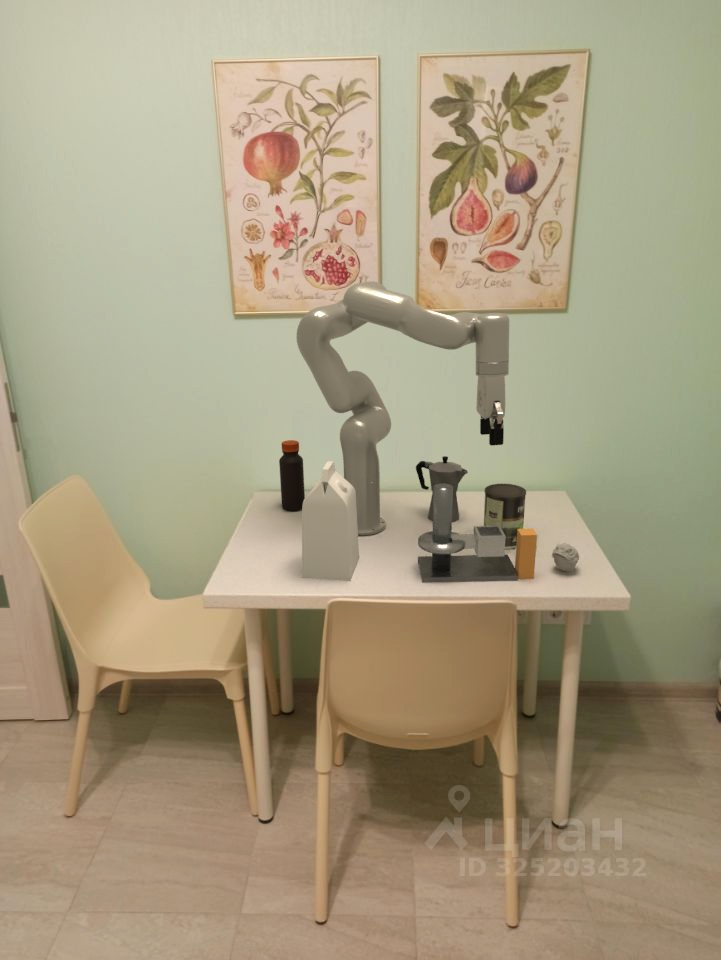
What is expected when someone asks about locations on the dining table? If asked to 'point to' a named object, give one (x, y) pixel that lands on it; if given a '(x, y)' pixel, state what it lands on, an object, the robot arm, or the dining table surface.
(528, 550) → the orange rectangular block
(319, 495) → the milk
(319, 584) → the dining table surface
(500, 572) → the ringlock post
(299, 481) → the vinegar
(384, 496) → the dining table surface
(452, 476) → the coffeepot
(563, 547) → the plaster head sculpture
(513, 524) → the coffee can
